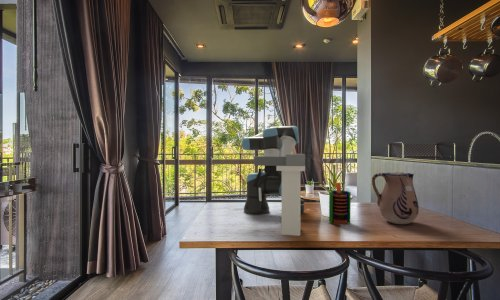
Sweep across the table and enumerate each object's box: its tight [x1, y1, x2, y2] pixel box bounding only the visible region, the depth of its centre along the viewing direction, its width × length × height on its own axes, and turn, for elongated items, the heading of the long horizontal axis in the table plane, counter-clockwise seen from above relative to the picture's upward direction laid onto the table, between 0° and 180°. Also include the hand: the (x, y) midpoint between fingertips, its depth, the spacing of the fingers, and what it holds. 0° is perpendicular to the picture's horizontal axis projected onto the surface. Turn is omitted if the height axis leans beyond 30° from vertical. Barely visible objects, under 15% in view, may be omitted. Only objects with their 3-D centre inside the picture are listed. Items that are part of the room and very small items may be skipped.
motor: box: [328, 182, 352, 226], centre depth 145 cm, size 10×9×20 cm
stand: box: [276, 165, 306, 237], centre depth 129 cm, size 17×12×30 cm
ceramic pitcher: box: [371, 171, 420, 225], centre depth 145 cm, size 18×21×25 cm
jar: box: [301, 198, 305, 215], centre depth 167 cm, size 10×10×8 cm
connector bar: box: [253, 153, 306, 167], centre depth 126 cm, size 6×22×5 cm, turn 80°
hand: (273, 200), depth 142 cm, fingers open, 13 cm apart
